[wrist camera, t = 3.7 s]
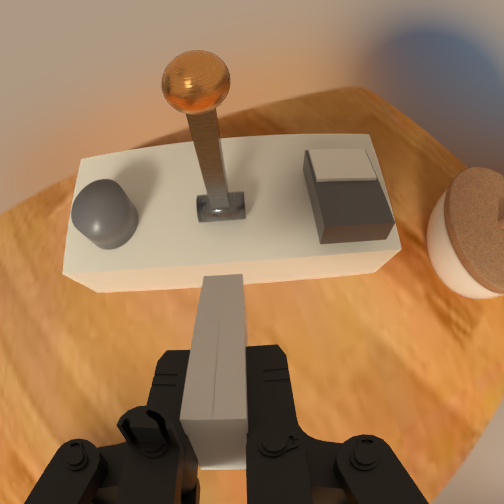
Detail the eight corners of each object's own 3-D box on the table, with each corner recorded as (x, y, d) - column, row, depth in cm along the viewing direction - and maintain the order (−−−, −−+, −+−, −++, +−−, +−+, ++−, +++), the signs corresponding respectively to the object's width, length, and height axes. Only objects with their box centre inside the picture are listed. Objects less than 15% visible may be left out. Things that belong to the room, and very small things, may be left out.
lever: (200, 232, 21) (144, 85, 9) (200, 198, 22) (154, 44, 10) (246, 229, 21) (235, 73, 9) (244, 194, 22) (232, 34, 10)
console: (97, 292, 26) (62, 273, 20) (107, 191, 29) (81, 157, 24) (373, 273, 26) (401, 249, 21) (351, 171, 30) (368, 132, 24)
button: (86, 251, 21) (67, 237, 18) (92, 202, 22) (76, 183, 20) (136, 247, 21) (121, 231, 18) (140, 195, 22) (127, 174, 20)
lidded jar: (415, 191, 29) (459, 134, 20) (494, 228, 28) (547, 187, 19) (398, 291, 26) (456, 257, 17) (487, 323, 24) (553, 302, 16)
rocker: (320, 244, 19) (325, 224, 17) (302, 169, 23) (305, 147, 21) (386, 239, 19) (396, 220, 17) (360, 167, 23) (366, 147, 21)
